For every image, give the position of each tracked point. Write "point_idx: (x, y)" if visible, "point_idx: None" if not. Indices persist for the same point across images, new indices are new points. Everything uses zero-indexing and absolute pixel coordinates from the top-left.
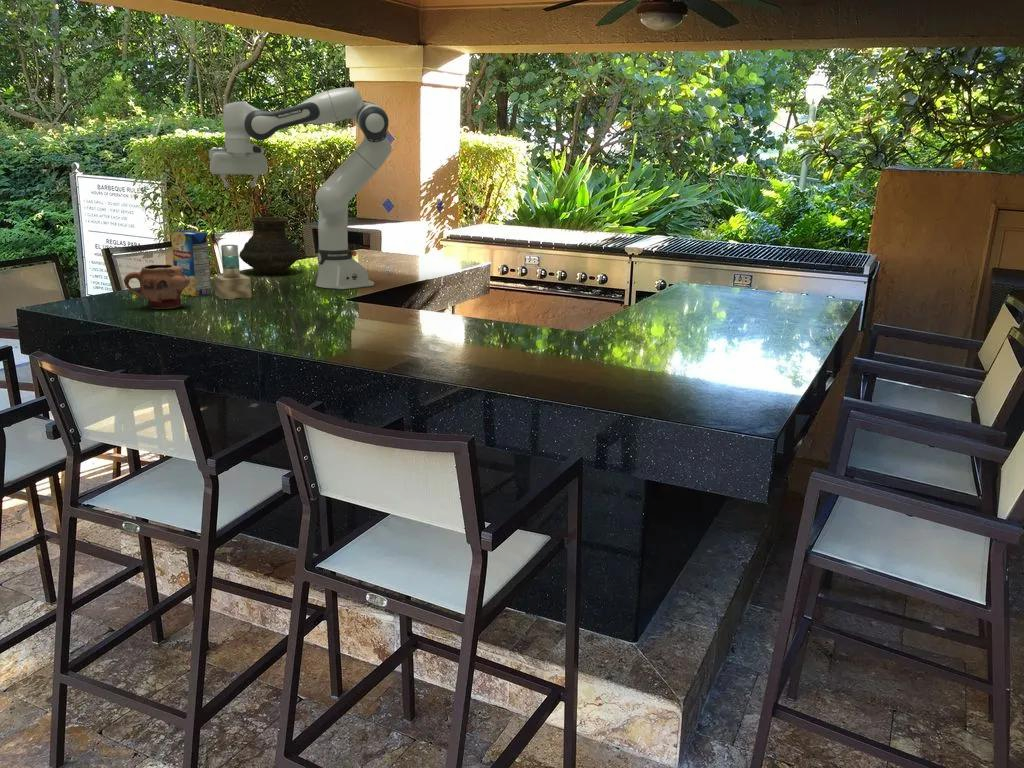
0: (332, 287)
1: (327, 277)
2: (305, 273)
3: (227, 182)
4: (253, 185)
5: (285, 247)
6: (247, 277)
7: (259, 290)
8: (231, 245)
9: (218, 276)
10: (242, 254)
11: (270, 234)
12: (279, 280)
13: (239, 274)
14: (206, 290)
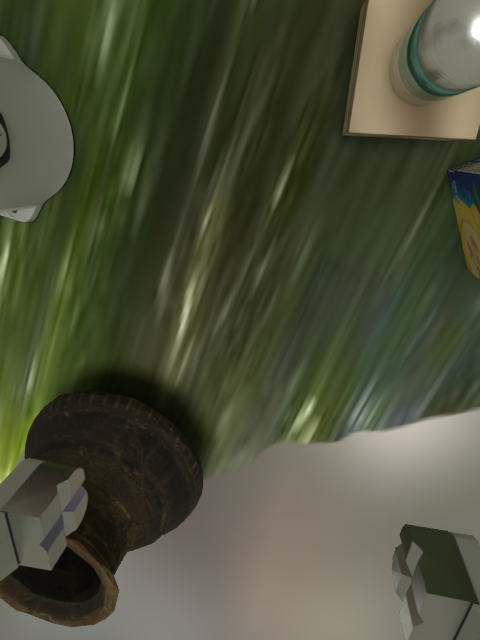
0: (30, 70)
1: (20, 88)
2: (52, 380)
3: (462, 598)
4: (43, 472)
5: (61, 432)
6: (373, 12)
7: (269, 165)
8: (474, 24)
9: (470, 107)
10: (198, 478)
11: None
12: (149, 312)
13: (402, 37)
14: (476, 161)
